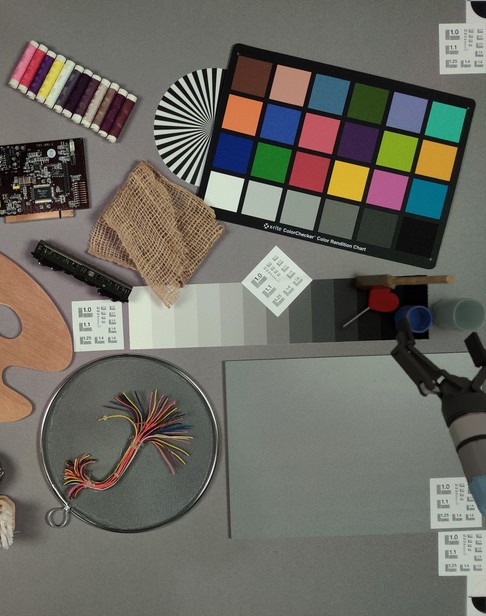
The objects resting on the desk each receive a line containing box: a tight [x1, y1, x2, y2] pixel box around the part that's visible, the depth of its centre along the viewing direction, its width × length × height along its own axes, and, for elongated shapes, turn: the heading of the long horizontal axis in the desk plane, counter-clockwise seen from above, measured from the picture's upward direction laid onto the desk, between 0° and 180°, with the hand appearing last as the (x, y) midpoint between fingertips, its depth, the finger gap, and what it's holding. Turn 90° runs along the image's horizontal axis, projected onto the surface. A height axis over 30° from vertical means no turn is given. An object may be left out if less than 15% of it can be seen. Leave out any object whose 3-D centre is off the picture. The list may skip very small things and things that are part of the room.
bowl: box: [393, 304, 434, 334], centre depth 141 cm, size 6×6×5 cm
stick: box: [387, 274, 456, 287], centre depth 120 cm, size 2×2×20 cm
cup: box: [431, 297, 486, 333], centre depth 139 cm, size 8×8×10 cm
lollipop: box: [342, 289, 400, 328], centre depth 143 cm, size 8×1×15 cm
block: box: [352, 273, 398, 291], centre depth 137 cm, size 3×3×14 cm
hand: (435, 328), depth 111 cm, fingers open, 13 cm apart
